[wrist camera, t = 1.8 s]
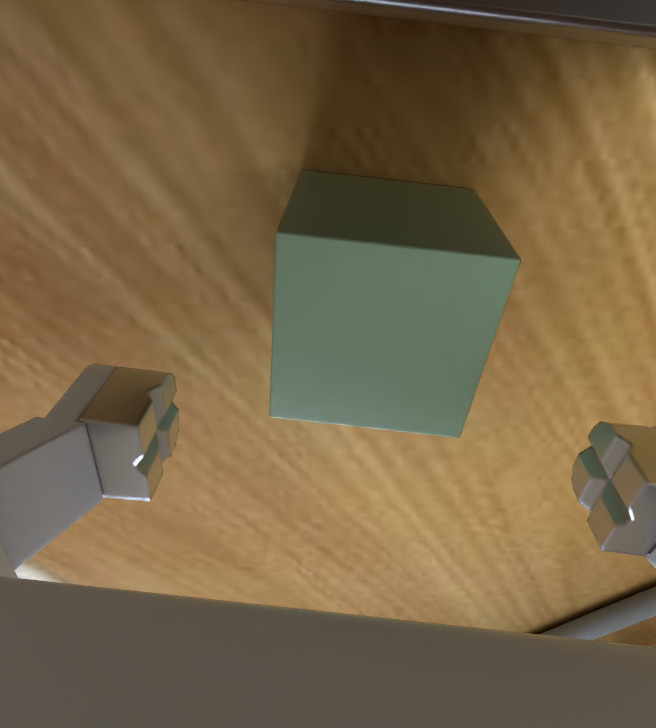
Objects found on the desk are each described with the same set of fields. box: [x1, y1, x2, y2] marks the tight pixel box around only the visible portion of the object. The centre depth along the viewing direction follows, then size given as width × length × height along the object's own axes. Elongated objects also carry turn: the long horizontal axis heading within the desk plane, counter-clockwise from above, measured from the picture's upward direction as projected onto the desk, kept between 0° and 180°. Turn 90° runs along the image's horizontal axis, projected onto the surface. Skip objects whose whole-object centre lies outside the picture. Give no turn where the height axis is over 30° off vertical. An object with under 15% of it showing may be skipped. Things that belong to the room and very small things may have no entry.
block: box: [270, 170, 521, 438], centre depth 13 cm, size 5×5×5 cm
